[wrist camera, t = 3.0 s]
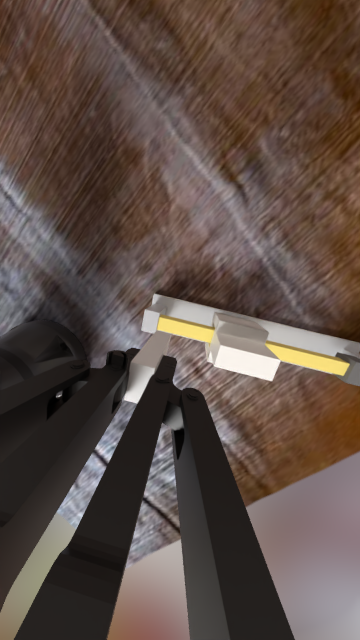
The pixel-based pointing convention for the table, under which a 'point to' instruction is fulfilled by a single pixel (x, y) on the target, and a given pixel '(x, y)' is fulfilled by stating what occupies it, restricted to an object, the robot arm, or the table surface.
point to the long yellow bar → (274, 350)
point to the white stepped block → (241, 347)
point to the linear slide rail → (276, 330)
